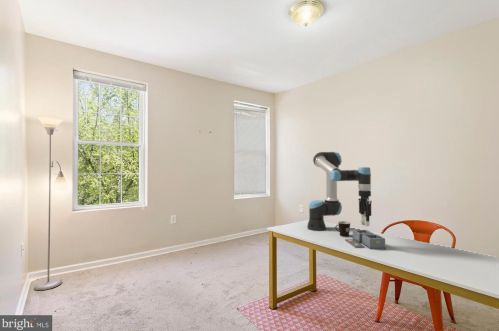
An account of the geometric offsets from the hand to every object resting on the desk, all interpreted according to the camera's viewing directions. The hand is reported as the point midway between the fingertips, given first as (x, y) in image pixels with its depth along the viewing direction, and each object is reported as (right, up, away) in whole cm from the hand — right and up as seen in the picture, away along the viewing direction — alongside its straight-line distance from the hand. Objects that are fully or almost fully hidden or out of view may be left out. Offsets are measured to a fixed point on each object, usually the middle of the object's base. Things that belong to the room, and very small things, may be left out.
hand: (365, 225), depth 169 cm
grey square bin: (+3, -14, +10) cm, 17 cm away
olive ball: (0, 0, 0) cm, 0 cm away
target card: (-6, -14, +4) cm, 15 cm away
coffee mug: (-7, -14, +24) cm, 28 cm away
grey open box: (+5, -14, -2) cm, 15 cm away
